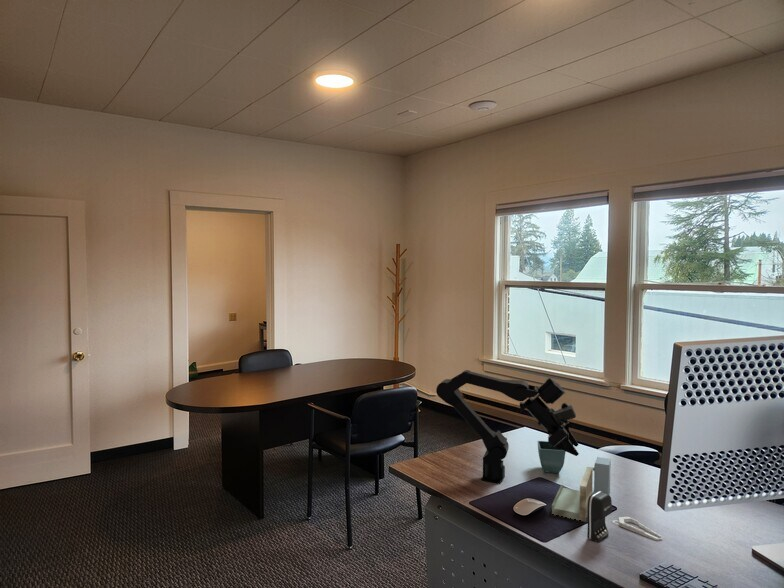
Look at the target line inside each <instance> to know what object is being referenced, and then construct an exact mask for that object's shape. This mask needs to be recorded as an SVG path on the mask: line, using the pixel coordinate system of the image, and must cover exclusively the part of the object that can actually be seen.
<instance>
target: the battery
mask: <svg viewBox="0 0 784 588" xmlns="http://www.w3.org/2000/svg"><path fill="white" fill-rule="evenodd" d="M612 505H613V504H612V497H611V494H609V495H608V494H606V493H603V492H601V491H597V492H594V493H593V492H592V495H590V496H589V498H588V515H587V539H589V540H592V541H595V542H600V541H602V540H604V539H605V538H607V537H608V536H609V530H608V528H607V524H606V517H608V516H610V515H611V514H612V511H613V510H612V509H613V507H612Z"/></svg>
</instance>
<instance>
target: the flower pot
mask: <svg viewBox="0 0 784 588" xmlns="http://www.w3.org/2000/svg"><path fill="white" fill-rule="evenodd" d="M537 450H538V451H537V452H538V458H539V462H540V466H541V468H542V470H543V472H544V473H556V474H560V472H561V471H562V470H563V467H564V464H565V458H566V453H567V452H566V451H564V450H561V449H559V448H555V447H552V446H551V445H550V444H549V443H548V440H547V441H546V440H537Z"/></svg>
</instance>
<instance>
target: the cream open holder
mask: <svg viewBox="0 0 784 588" xmlns="http://www.w3.org/2000/svg"><path fill="white" fill-rule="evenodd" d="M593 467H594V466H593ZM593 467H592V466H586V469H585V472H584V474H583V476H582V480H581V482H580V484H579V489H574V488H573V489H572V488H567V487H564V484H560V486H559V488H558V490H557V492H556V495H555V497H554V499H553V501H552V504H551V515H552V514H554V515H553V516H556V515H559V516H558V517H561V516H563V517H562V518H565V517H567V518H566V519H570V518H571V519H570V520H574V519H576V521H579V520H581V521H580V522H584V523H586V521H587V519H588V498H589V496H590V495H592V494H593V478H594V475H593V474H594V471H593ZM586 518H587V519H586Z"/></svg>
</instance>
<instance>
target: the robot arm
mask: <svg viewBox="0 0 784 588" xmlns="http://www.w3.org/2000/svg"><path fill="white" fill-rule="evenodd" d="M467 384H469V385H472V386H476V387H479V388H484V389H487V390H492V391H494V392H499V393H501V394H503V395H505V396H506V397H508V398H510V399H512V400H515V401H517V402H519V412H520V413H522V412H523V411H525V410H527V412H529V413H530V415H531V416H532V417H533V418H534V419H535V420H536V421H537V424H538V425H539V426H542V427H543V428H544V429H545V431H546V434H547V435H548V437H547V441H548V443H549V444H550V445H551V446H552V447H555V448H559V449H561V450H564V451H566V452H565V453H569V454H571V455H573V456H576V457H577V456H579V452H578V450H577V449H576V448H577V447H578V446H579V443H578V441H577V439H576V438H575V436H574V435H573V432H572V431H571V430H570V421H569V420H572V419H573V420H574V419H576V417H577V414H576V411H575V409H574V407H573V405H571V404H570V405H569V404H568V403H567V402H564V403H561V407H560V408H558V409H557V410H555V409H554V408H550V407H549V406H548V405H550V404H551V405H553V404H555V402H556V401H558V400H559V399H560V398H561V397H562V396H563V395H565V394H566V392H565V389H564V388H563V387H562V386H561V385H560V384H559V383H558V382H556V380H554V379H552V378H551V377H548V378H547V379H546V380H545V381H544V382H543V383H542V384H541V385H540V386H537V385H532V384H529V383H528V382H527V381H525V380H521V379H501V378H497V377H495V376H491V375H485V374H482V373H478V372H475V371H471V370H469V369H465V370H464V371H462V372H461V373H459V374H457V375H456V376H454V377H452V378H451V379H450V378H449V379H448V378H446V379H444V380H441V382H440V383H438V385H437V386H436V394H437V397H438V398H439V399H441V400H442V401H443V402H445V403H446V404H447V405H449V406H451V407H453V408H454V410H456V411H457V413H459V415H460V416H461V417H462V418H463V419H464V421H465V422H466V423H467V424H468V425H469V426H470V428H471V429H473V431H474V432H475V433H476V434H477V435H478V436H479V438H481V440H482V442H483V446H484V447H485V449H486V450H485V451H484V455H483V457H482V476H481V478H480V480H481V481H485V482H491V483H496V484H501V483H502V481H503V480H504V479H505V478H506V477H505V476H506V475H505V474H506V467H505V465H504V459H505V458H506V457H507V454H508V452H509V447H510V445H509V442H508V438H507V437H505V436H504V435H503V433H502V432H501V430H497V431H494V430H492V429H491V428H490V427H489V425H487V424H486V423H485V421H484V420H483V419H482V418H481V416H479V414H478V413H477V412H476V411H475V410H474V409H473V407H471V405H470V404H469V403H468V402H467V401H466V400H465V399H464V397H463V395H462V393H461V391H460V388H461V387H463V386H464V385H467Z"/></svg>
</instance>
